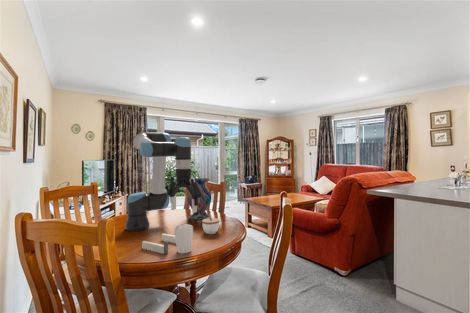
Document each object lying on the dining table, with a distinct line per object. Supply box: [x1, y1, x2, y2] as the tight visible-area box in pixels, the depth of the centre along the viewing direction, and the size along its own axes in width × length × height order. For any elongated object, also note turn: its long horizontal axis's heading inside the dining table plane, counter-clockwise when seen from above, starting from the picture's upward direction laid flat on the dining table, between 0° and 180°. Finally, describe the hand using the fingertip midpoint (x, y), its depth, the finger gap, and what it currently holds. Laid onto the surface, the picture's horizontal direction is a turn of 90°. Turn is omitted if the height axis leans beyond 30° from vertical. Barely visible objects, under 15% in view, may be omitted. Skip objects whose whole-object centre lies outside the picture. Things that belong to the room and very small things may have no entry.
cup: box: [174, 223, 194, 254], centre depth 119 cm, size 9×9×12 cm
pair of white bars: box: [141, 233, 176, 255], centre depth 126 cm, size 17×16×6 cm
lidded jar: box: [201, 216, 220, 235], centre depth 148 cm, size 11×11×9 cm
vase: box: [187, 177, 212, 221], centre depth 187 cm, size 18×18×30 cm
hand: (183, 210), depth 120 cm, fingers open, 13 cm apart
